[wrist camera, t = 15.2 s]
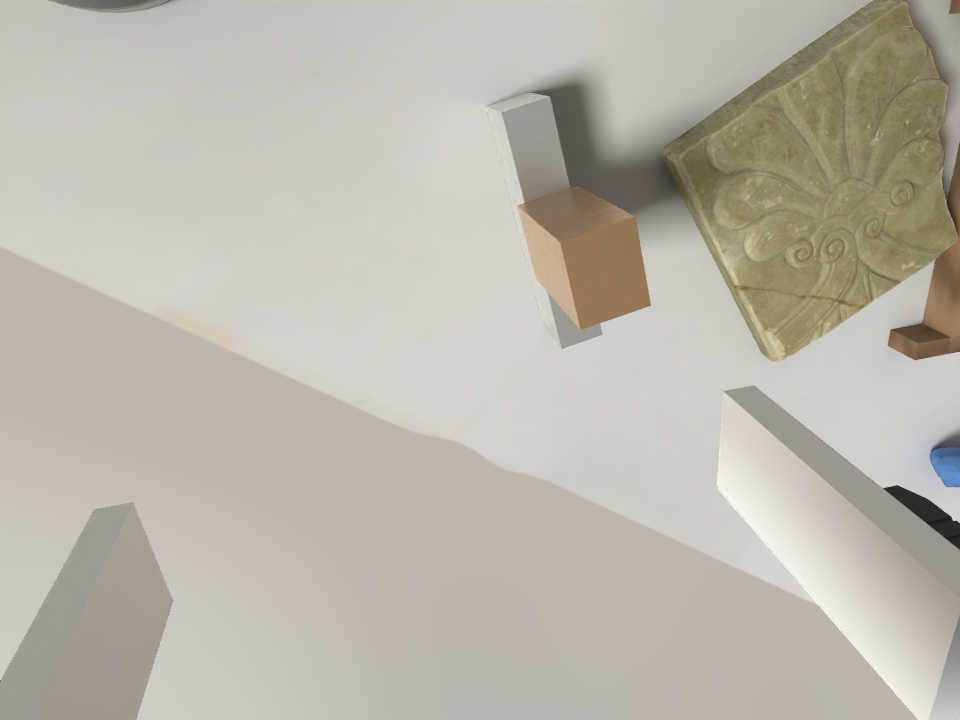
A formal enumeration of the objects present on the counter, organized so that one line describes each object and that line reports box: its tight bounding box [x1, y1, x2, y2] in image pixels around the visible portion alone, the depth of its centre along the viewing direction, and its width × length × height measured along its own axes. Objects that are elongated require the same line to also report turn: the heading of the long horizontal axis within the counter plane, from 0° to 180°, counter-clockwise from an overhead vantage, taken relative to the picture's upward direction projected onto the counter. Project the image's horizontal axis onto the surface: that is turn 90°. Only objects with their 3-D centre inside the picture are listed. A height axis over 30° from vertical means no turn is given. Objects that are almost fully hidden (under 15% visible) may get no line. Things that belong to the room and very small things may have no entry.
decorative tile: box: [662, 0, 958, 362], centre depth 49 cm, size 19×20×4 cm
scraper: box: [485, 92, 651, 349], centre depth 40 cm, size 16×4×14 cm, turn 16°
